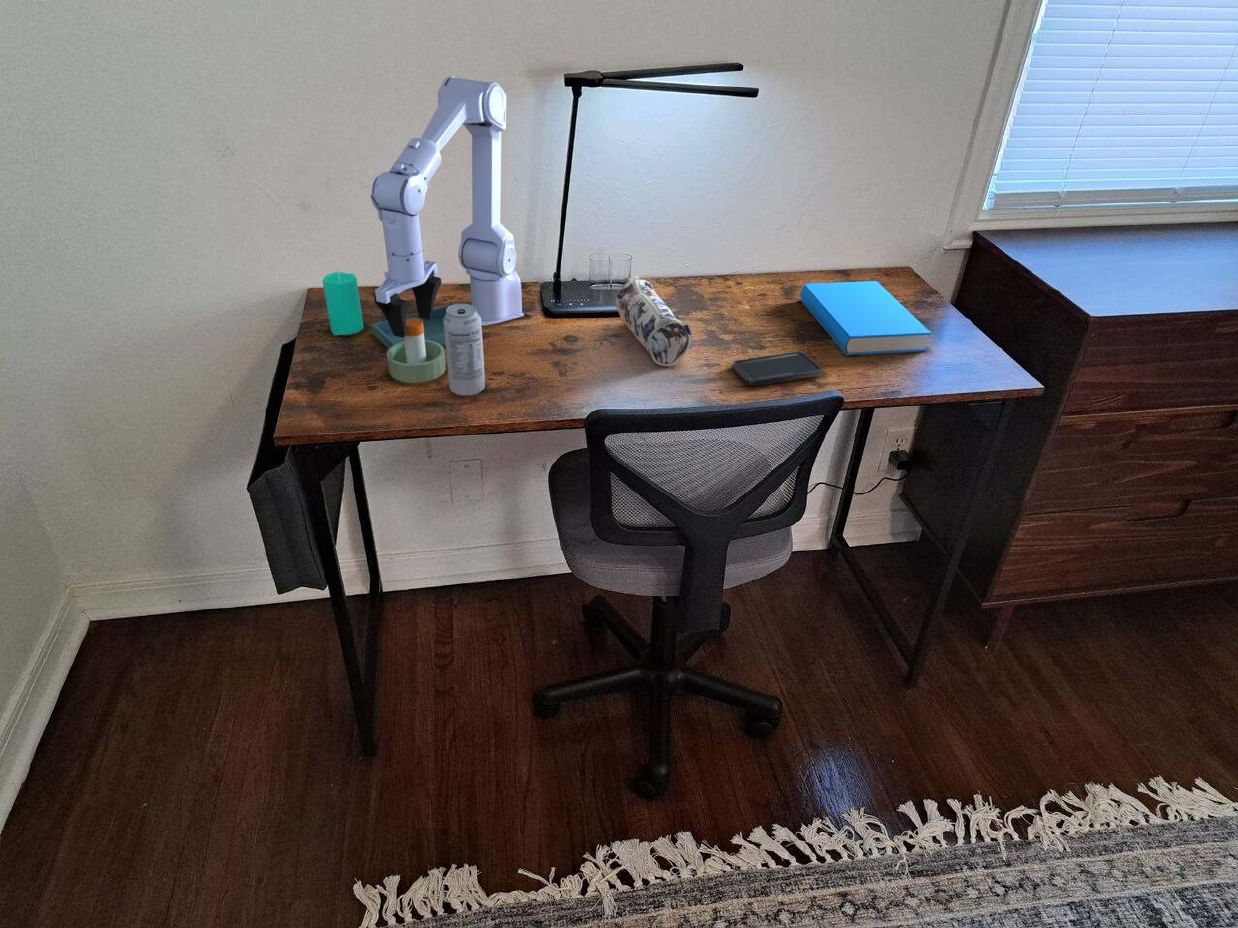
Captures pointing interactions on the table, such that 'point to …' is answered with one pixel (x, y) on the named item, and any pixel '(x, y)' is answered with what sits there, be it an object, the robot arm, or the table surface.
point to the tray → (431, 328)
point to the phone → (776, 368)
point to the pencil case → (652, 322)
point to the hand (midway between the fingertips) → (412, 327)
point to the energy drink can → (464, 349)
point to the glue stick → (415, 341)
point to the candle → (343, 303)
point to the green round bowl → (416, 371)
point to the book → (864, 318)
